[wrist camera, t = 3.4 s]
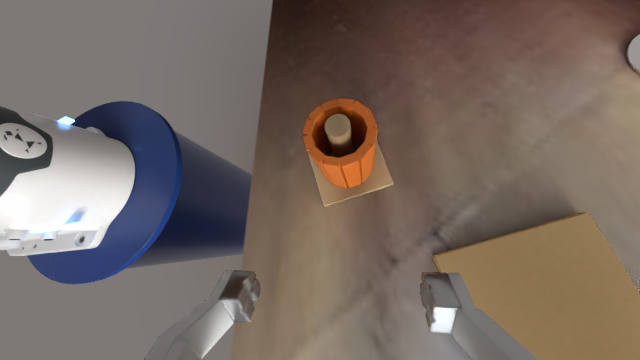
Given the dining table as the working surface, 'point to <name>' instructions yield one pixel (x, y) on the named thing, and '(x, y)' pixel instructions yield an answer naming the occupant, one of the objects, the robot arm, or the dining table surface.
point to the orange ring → (363, 134)
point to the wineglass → (634, 53)
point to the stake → (342, 146)
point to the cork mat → (554, 290)
